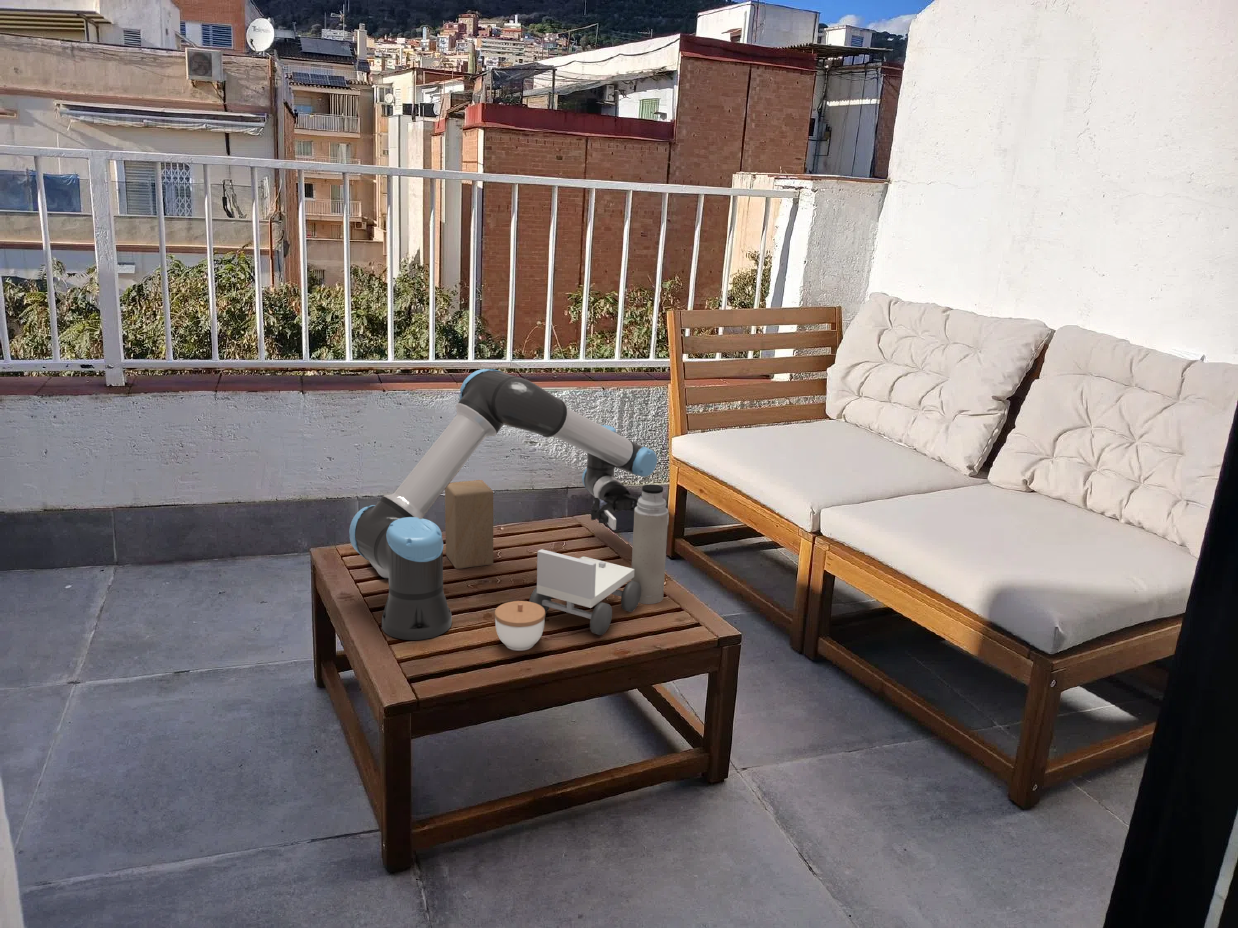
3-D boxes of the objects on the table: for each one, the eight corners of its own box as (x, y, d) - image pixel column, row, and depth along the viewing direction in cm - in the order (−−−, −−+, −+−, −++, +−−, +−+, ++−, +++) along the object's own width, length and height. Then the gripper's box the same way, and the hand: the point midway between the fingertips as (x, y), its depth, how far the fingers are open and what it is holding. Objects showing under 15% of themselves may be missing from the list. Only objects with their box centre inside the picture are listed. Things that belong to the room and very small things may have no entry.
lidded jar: (484, 645, 208) (484, 605, 206) (516, 628, 217) (516, 589, 214) (523, 661, 203) (523, 620, 200) (554, 642, 211) (555, 602, 208)
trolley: (595, 640, 213) (598, 568, 208) (528, 620, 221) (529, 550, 216) (640, 605, 230) (643, 538, 225) (576, 588, 238) (578, 522, 233)
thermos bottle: (629, 589, 239) (634, 480, 231) (662, 590, 239) (668, 481, 231) (630, 603, 231) (636, 491, 223) (664, 604, 231) (671, 492, 223)
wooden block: (445, 555, 255) (444, 482, 249) (482, 550, 259) (482, 478, 253) (455, 569, 246) (454, 494, 240) (493, 564, 250) (493, 490, 244)
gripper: (655, 504, 261) (687, 532, 242) (565, 511, 252) (591, 541, 233) (656, 477, 258) (689, 503, 239) (566, 484, 250) (592, 511, 231)
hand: (641, 522), depth 236 cm, fingers open, 13 cm apart
